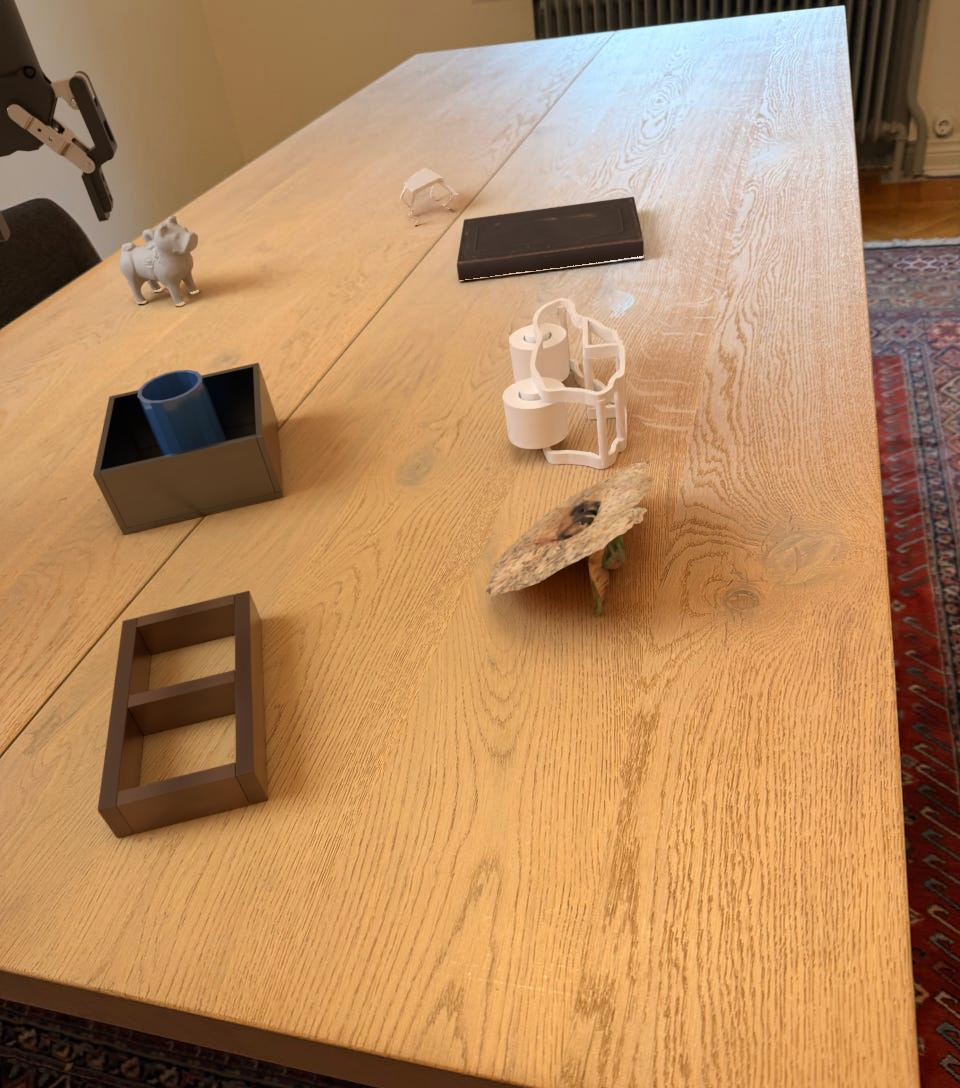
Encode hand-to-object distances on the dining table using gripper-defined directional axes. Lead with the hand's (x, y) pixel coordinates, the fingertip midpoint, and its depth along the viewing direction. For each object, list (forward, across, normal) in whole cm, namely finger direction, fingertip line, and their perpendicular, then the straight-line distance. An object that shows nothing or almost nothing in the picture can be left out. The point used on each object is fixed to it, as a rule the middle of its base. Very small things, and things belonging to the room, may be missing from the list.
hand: (54, 228), depth 79 cm
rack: (+24, -6, +37) cm, 44 cm away
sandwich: (+24, -36, +30) cm, 52 cm away
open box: (+24, -5, +3) cm, 24 cm away
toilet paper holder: (+23, -41, +7) cm, 48 cm away
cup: (+23, -5, +3) cm, 24 cm away
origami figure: (+23, -37, -59) cm, 73 cm away
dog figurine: (+24, +1, -46) cm, 52 cm away
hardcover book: (+23, -49, -35) cm, 65 cm away
